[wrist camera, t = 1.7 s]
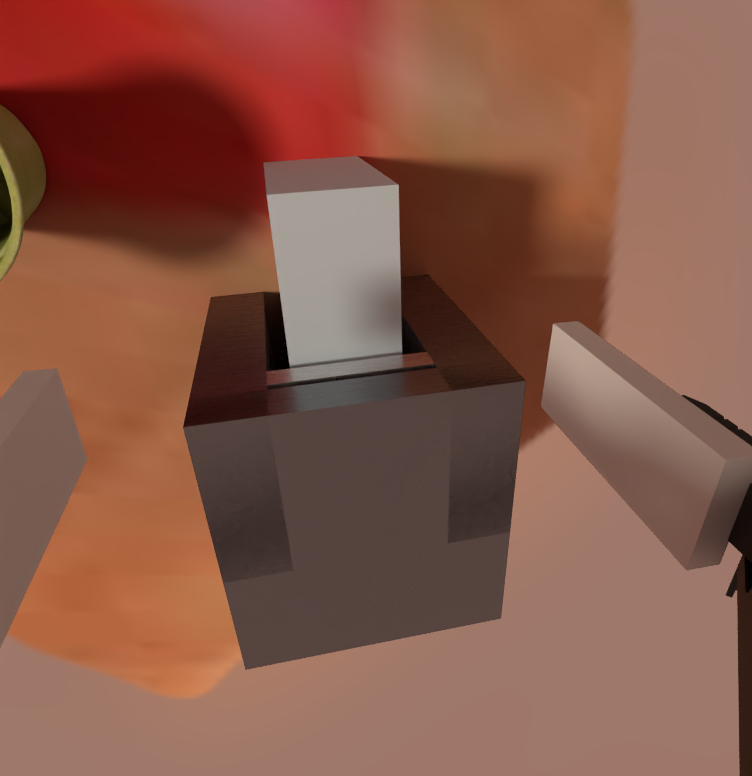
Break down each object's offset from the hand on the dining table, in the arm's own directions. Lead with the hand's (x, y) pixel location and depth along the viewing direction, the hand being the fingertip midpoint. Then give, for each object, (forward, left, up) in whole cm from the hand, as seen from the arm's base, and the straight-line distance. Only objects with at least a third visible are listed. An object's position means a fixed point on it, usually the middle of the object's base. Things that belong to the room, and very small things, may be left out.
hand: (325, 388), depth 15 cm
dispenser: (+10, +2, -18) cm, 21 cm away
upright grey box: (+1, +2, -18) cm, 19 cm away
